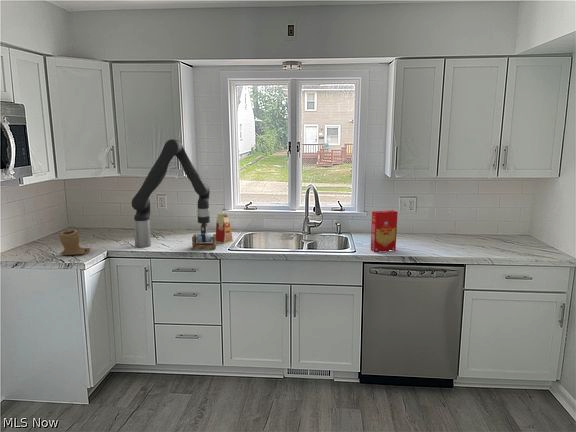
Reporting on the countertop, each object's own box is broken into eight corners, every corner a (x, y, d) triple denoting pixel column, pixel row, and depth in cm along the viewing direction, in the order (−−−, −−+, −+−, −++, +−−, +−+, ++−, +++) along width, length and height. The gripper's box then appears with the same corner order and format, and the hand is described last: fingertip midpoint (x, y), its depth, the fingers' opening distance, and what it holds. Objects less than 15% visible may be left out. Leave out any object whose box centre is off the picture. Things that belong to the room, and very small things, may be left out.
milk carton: (233, 241, 300) (232, 212, 297) (224, 243, 292) (223, 214, 289) (222, 239, 305) (221, 211, 301) (213, 242, 297) (213, 213, 293)
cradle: (192, 249, 277) (192, 237, 276) (194, 246, 286) (193, 234, 284) (214, 249, 278) (214, 237, 277) (216, 245, 287) (215, 233, 286)
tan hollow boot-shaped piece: (57, 257, 258) (54, 232, 256) (66, 252, 270) (64, 228, 267) (83, 257, 259) (81, 232, 256) (91, 252, 271) (89, 228, 268)
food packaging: (374, 252, 273) (376, 212, 269) (370, 250, 278) (372, 211, 274) (395, 250, 277) (397, 211, 273) (391, 248, 282) (393, 210, 278)
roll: (196, 244, 279) (196, 237, 277) (197, 239, 284) (196, 232, 282) (211, 244, 280) (211, 236, 278) (212, 239, 285) (212, 232, 282)
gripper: (198, 213, 285) (199, 238, 288) (196, 217, 271) (197, 244, 274) (210, 213, 285) (211, 238, 289) (208, 217, 271) (209, 243, 274)
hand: (204, 241), depth 281 cm, fingers closed on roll, 5 cm apart
